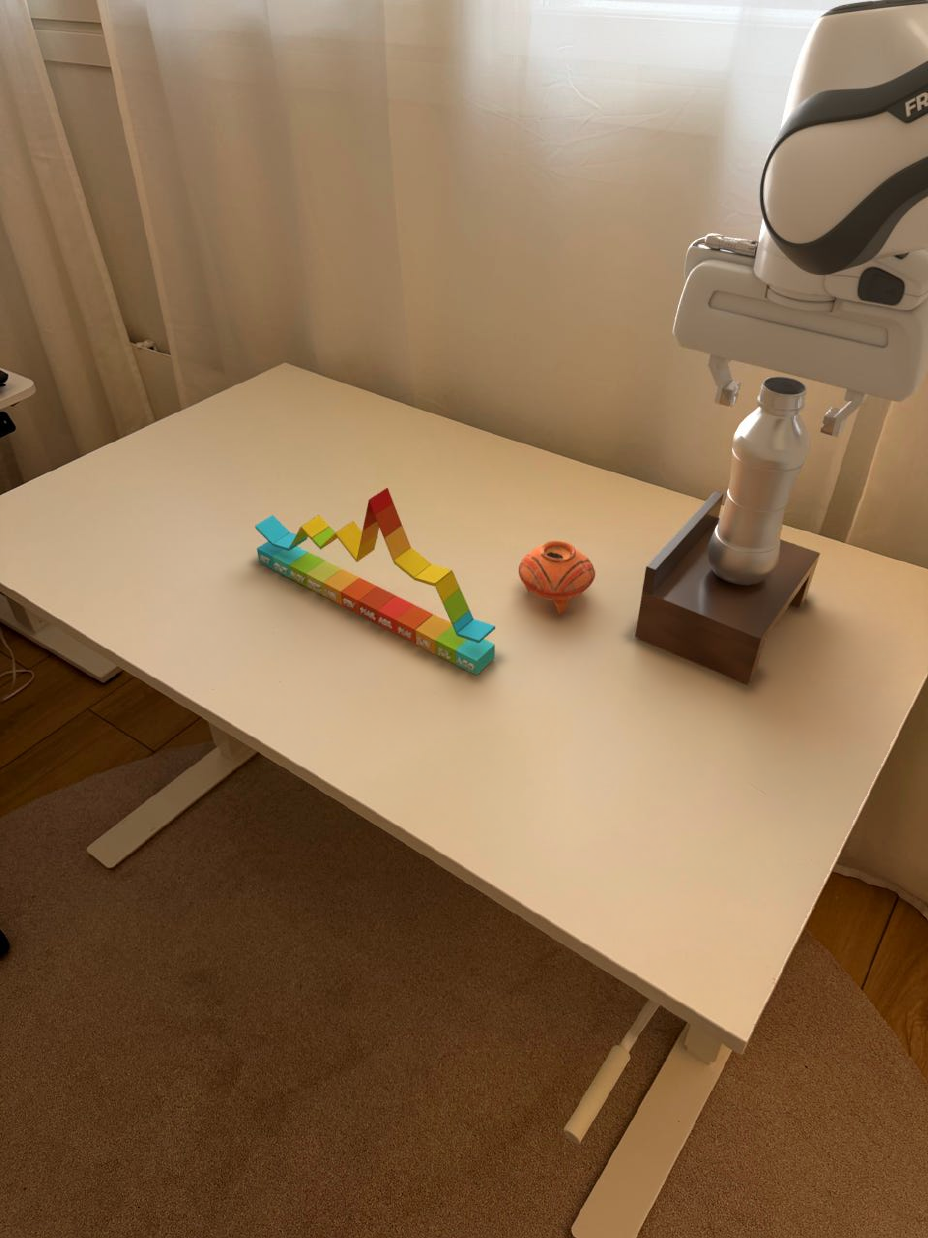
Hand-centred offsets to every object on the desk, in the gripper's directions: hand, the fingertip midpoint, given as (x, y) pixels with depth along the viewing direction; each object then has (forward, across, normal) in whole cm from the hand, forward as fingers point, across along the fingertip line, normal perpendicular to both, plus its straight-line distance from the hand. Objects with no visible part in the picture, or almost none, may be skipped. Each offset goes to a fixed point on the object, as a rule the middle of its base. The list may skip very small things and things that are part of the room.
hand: (776, 417), depth 77 cm
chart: (+23, -32, -20) cm, 44 cm away
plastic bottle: (+17, 0, 0) cm, 17 cm away
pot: (+23, -17, -7) cm, 29 cm away
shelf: (+23, -1, 0) cm, 23 cm away
